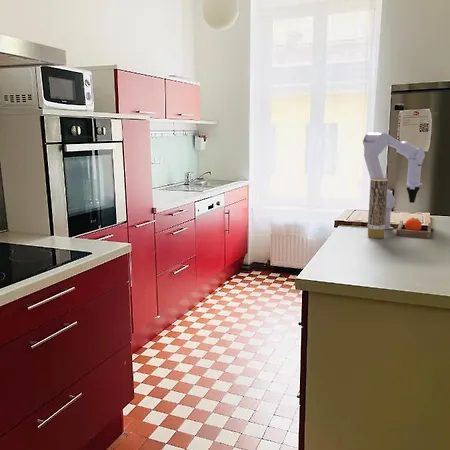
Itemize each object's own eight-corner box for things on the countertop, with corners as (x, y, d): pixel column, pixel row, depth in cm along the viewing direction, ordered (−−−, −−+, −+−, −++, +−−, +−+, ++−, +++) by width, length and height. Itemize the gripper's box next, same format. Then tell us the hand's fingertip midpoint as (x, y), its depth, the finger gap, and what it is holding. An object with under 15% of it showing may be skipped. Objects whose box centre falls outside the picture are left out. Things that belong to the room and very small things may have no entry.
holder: (429, 238, 199) (430, 232, 198) (396, 235, 204) (396, 229, 204) (431, 228, 217) (431, 222, 217) (400, 225, 223) (400, 220, 222)
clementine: (422, 232, 210) (424, 216, 208) (424, 235, 203) (425, 219, 202) (403, 231, 212) (404, 215, 210) (404, 234, 205) (405, 218, 204)
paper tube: (382, 235, 205) (385, 177, 200) (385, 239, 198) (389, 179, 193) (366, 235, 206) (369, 177, 200) (369, 238, 199) (372, 179, 194)
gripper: (422, 175, 214) (420, 205, 217) (423, 172, 227) (421, 200, 229) (406, 175, 217) (404, 204, 219) (408, 172, 229) (406, 199, 232)
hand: (412, 202), depth 225 cm, fingers closed
